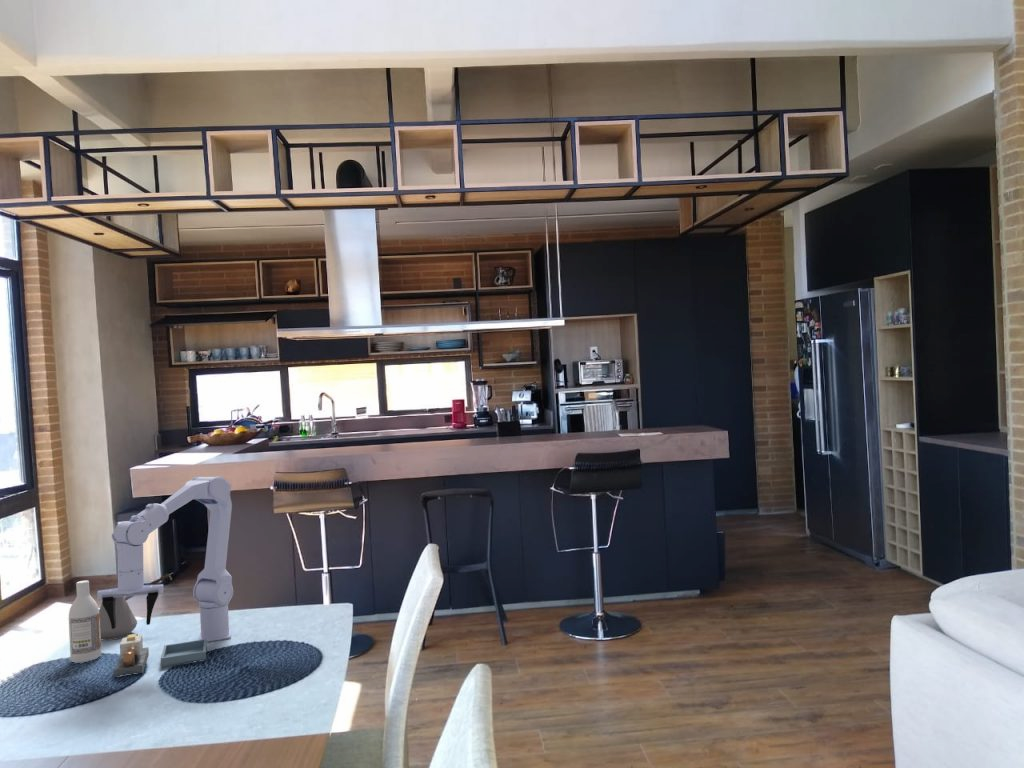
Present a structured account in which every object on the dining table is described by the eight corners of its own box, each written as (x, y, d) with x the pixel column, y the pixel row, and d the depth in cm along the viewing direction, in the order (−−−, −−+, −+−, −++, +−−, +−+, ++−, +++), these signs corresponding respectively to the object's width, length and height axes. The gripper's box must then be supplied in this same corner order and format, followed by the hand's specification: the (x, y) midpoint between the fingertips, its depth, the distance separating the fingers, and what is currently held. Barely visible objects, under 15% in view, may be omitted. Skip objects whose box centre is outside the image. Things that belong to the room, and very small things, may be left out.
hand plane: (122, 658, 196) (121, 635, 196) (148, 654, 198) (147, 631, 198) (114, 678, 182) (113, 652, 182) (142, 673, 184) (141, 648, 184)
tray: (164, 654, 198) (164, 645, 198) (207, 648, 201) (206, 639, 202) (161, 668, 187) (160, 658, 187) (205, 661, 191) (205, 651, 191)
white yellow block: (123, 649, 192) (122, 634, 192) (142, 646, 194) (142, 632, 194) (120, 656, 187) (119, 641, 187) (140, 653, 188) (139, 638, 188)
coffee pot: (94, 645, 209) (92, 590, 210) (89, 635, 219) (87, 583, 219) (178, 628, 222) (175, 576, 222) (170, 620, 231) (167, 570, 231)
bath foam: (104, 659, 197) (100, 581, 197) (73, 666, 192) (69, 586, 193) (98, 653, 202) (94, 577, 202) (68, 659, 198) (64, 582, 198)
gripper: (95, 576, 184) (95, 633, 183) (161, 569, 189) (162, 625, 188) (99, 571, 190) (100, 626, 190) (163, 565, 196) (164, 619, 195)
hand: (131, 625), depth 190 cm, fingers open, 7 cm apart
